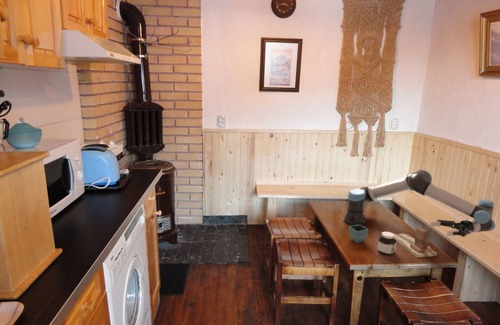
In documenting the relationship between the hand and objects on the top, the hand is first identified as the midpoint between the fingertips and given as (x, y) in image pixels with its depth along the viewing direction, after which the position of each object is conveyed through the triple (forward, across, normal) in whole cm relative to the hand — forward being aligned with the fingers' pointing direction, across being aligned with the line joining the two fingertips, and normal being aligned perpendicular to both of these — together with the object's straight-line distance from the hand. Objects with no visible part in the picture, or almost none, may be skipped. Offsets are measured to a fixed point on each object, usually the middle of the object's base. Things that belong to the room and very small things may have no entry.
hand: (438, 228), depth 198 cm
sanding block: (+10, 0, -12) cm, 16 cm away
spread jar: (+30, +6, -14) cm, 34 cm away
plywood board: (+10, +8, -14) cm, 19 cm away
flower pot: (+40, +20, -14) cm, 47 cm away
